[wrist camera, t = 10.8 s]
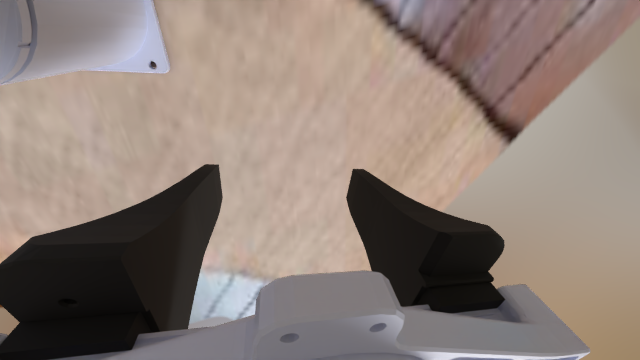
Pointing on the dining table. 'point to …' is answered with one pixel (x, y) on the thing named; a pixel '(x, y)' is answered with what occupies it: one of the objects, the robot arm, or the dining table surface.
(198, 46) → the dining table surface
